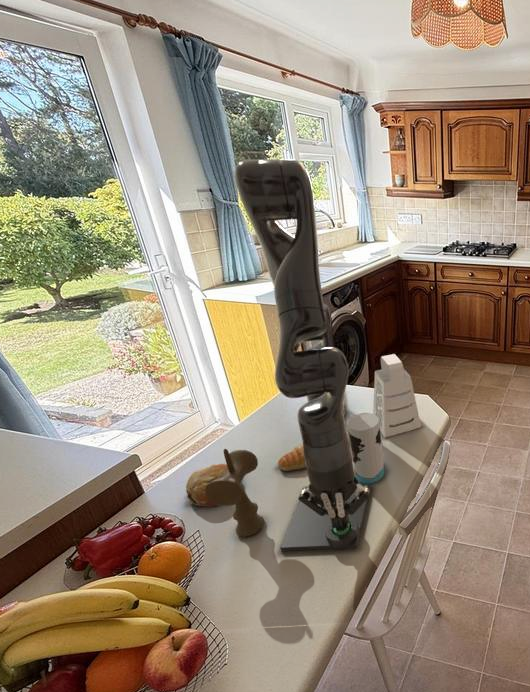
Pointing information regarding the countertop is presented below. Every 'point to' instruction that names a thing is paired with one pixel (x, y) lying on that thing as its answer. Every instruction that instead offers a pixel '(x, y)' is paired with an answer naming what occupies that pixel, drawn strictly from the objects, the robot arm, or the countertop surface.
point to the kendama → (237, 491)
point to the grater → (394, 397)
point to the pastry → (293, 460)
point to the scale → (321, 530)
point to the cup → (366, 447)
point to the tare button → (340, 533)
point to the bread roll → (203, 484)
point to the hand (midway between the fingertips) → (341, 527)
